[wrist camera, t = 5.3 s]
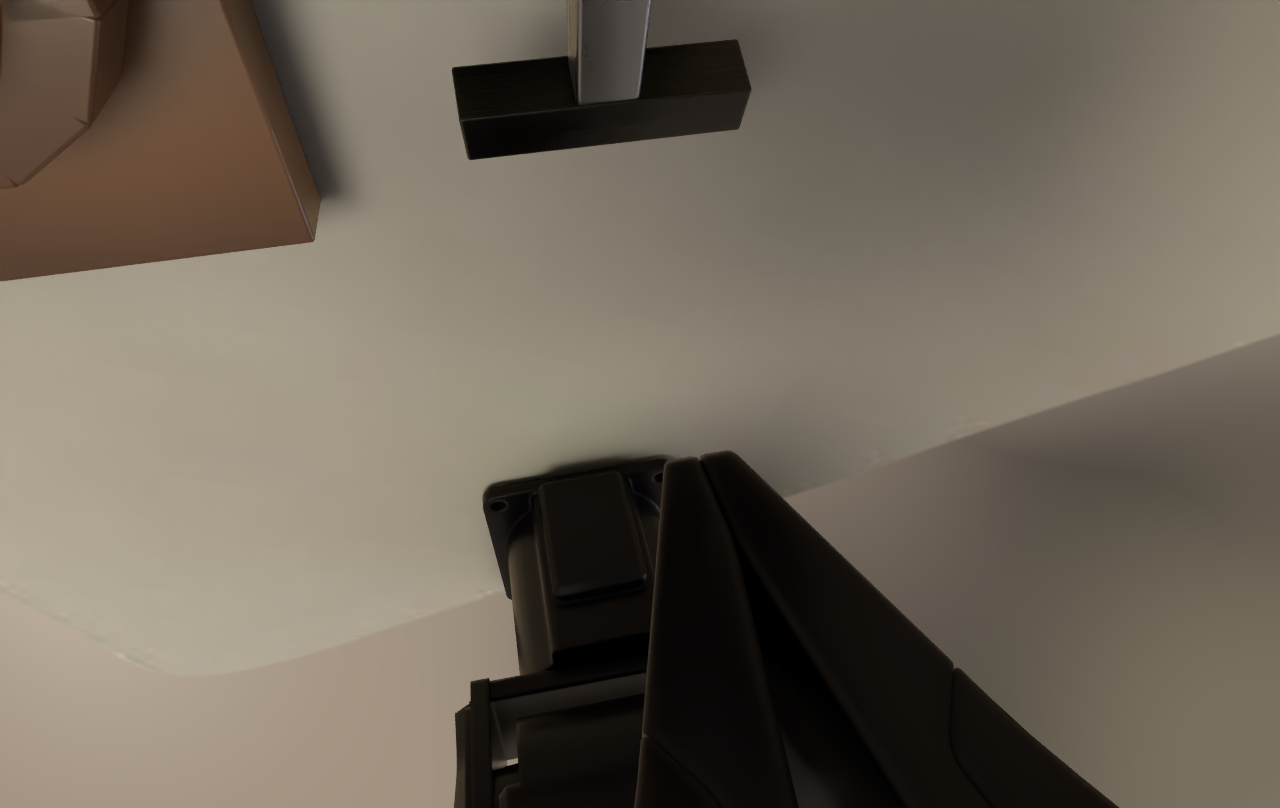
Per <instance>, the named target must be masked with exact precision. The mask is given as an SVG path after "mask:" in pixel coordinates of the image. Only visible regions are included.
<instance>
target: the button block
mask: <svg viewBox="0 0 1280 808" xmlns="http://www.w3.org/2000/svg"><path fill="white" fill-rule="evenodd" d="M320 202H321V200H320V197H319V194H318V191H317V189H316V186H315V183H314V180H313V177H312V175H311V172H310V169H309V166H308V163H307V160H306V158H305V155H304V152H303V149H302V146H301V143H300V141H299V138H298V135H297V132H296V129H295V127H294V124H293V121H292V118H291V115H290V112H289V110H288V107H287V104H286V101H285V98H284V95H283V93H282V90H281V87H280V84H279V81H278V79H277V76H276V73H275V70H274V67H273V64H272V62H271V59H270V56H269V53H268V50H267V47H266V45H265V42H264V39H263V36H262V33H261V31H260V28H259V25H258V22H257V19H256V16H255V14H254V11H253V8H252V5H251V2H250V0H0V281H8V280H15V279H23V278H31V277H39V276H47V275H55V274H63V273H71V272H79V271H87V270H95V269H103V268H111V267H118V266H126V265H134V264H142V263H150V262H158V261H166V260H174V259H182V258H190V257H198V256H206V255H213V254H221V253H229V252H237V251H245V250H253V249H261V248H269V247H277V246H285V245H293V244H301V243H308V242H313V241H314V240H315V234H316V228H317V221H318V215H319V209H320Z"/></svg>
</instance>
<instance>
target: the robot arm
mask: <svg viewBox="0 0 1280 808" xmlns="http://www.w3.org/2000/svg"><path fill="white" fill-rule="evenodd" d="M482 500H483V510H484V513H485V517H486V521H487V525H488V528H489V532H490V536H491V539H492V543H493V547H494V550H495V554H496V558H497V561H498V565H499V569H500V572H501V576H502V580H503V584H504V587H505V591H506V595H507V597H508V598H509V599H511V600H512V603H513V612H514V622H515V631H516V641H517V651H518V660H519V670H520V676H515V677H510V678H504V679H499V680H494V681H490V680H489V678H487V679H481V680H476V681H471V701H470V702H469V704H468V705H467V706H465V707H464V708H462V709H461V710H460V711H458V712H457V713H455V721H456V723H455V724H456V747H457V777H456V790H455V802H454V808H1119V807H1118V806H1117V805H1115V804H1114V803H1113V802H1111V801H1110V800H1109V799H1108V798H1107V797H1105V796H1104V795H1103V794H1102V793H1100V792H1099V791H1098V790H1097V789H1095V788H1094V787H1093V786H1092V785H1090V784H1089V783H1088V782H1087V781H1085V780H1084V779H1083V778H1082V777H1080V776H1079V775H1078V774H1077V773H1076V772H1075V771H1073V770H1072V769H1071V768H1070V767H1069V766H1067V765H1066V764H1065V763H1064V762H1063V761H1061V760H1060V759H1059V758H1058V757H1057V756H1055V755H1054V754H1053V753H1052V752H1051V751H1049V750H1048V749H1047V748H1046V747H1045V746H1043V745H1042V744H1041V743H1040V742H1039V741H1037V740H1036V739H1035V738H1034V737H1032V736H1031V735H1030V734H1029V733H1028V732H1027V731H1026V730H1025V729H1024V728H1022V726H1020V725H1019V724H1018V723H1017V722H1016V721H1015V720H1014V719H1013V718H1012V717H1011V716H1010V715H1008V714H1007V713H1006V712H1005V711H1004V710H1003V709H1002V708H1001V707H1000V706H999V705H998V704H996V703H995V702H994V701H993V700H992V699H991V698H990V697H989V696H988V695H987V694H986V693H985V692H984V691H983V690H982V689H980V688H979V687H978V686H977V685H976V684H975V683H974V682H973V681H972V680H971V679H970V678H969V677H968V676H967V675H966V674H965V673H964V672H963V671H962V670H961V669H959V668H954V669H953V667H954V665H953V663H952V661H951V660H950V659H949V658H948V657H947V656H946V655H945V654H944V653H943V652H942V651H941V650H940V649H939V648H938V647H937V646H936V645H935V644H934V643H932V642H931V641H930V640H929V639H928V638H927V637H926V636H925V635H924V634H923V633H922V632H921V631H920V630H919V629H918V628H917V627H916V626H915V625H914V624H913V623H912V622H911V621H910V620H909V619H907V617H905V616H904V615H903V614H902V613H901V612H900V611H899V610H898V609H897V608H896V607H895V606H894V605H893V604H892V603H891V602H890V601H889V600H888V599H887V598H886V597H885V596H884V595H883V594H882V593H880V591H878V590H877V589H876V588H875V587H874V586H873V585H872V584H871V583H870V582H869V581H868V580H867V579H866V578H865V577H864V576H863V575H862V574H861V573H860V572H859V571H858V570H857V569H855V568H854V566H852V565H851V564H850V563H849V562H848V561H847V560H846V559H845V558H844V557H843V556H842V555H841V554H840V553H839V552H838V551H837V550H836V549H835V548H834V547H833V546H831V544H830V543H829V542H827V541H826V540H825V539H824V538H823V537H822V536H821V535H820V534H819V533H818V532H817V531H816V530H815V529H814V528H813V527H812V526H811V525H810V524H809V523H808V522H807V521H806V520H805V519H804V518H802V516H800V515H799V514H798V513H797V512H796V511H795V510H794V509H793V508H792V507H791V506H790V505H789V504H788V503H787V502H786V501H785V500H784V499H783V498H782V497H781V496H780V495H779V494H778V493H777V492H776V491H775V490H773V489H772V488H771V487H770V486H769V485H768V484H767V483H766V482H765V481H764V480H763V479H762V478H761V477H760V476H759V475H758V474H757V473H756V472H755V471H754V470H753V469H752V468H751V467H750V466H749V465H747V464H746V463H745V462H744V461H743V460H742V459H741V458H740V457H739V456H738V455H737V454H736V453H734V452H732V451H721V452H715V453H710V454H704V455H702V456H701V457H700V458H699V460H698V459H697V458H696V457H686V458H681V459H675V460H666V459H656V460H651V461H645V462H639V463H633V464H628V465H622V466H616V467H610V468H605V469H599V470H593V471H587V472H582V473H576V474H570V475H564V476H559V477H553V478H547V479H541V480H536V481H530V482H524V483H518V484H512V485H507V486H501V487H495V488H492V489H489V490H488V491H486V492H485V493H484V495H483V499H482ZM497 501H499V502H497ZM515 758H518V763H517V764H514V765H509V766H507V760H510V759H515Z"/></svg>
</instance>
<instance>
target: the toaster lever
mask: <svg viewBox="0 0 1280 808" xmlns="http://www.w3.org/2000/svg"><path fill="white" fill-rule="evenodd" d="M651 3H652V0H567V23H568V56H562V57H552V58H542V59H532V60H522V61H511V62H501V63H491V64H481V65H471V66H461V67H454V68H453V69H452V75H453V82H454V88H455V95H456V102H457V108H458V115H459V121H460V126H461V130H462V135H463V139H464V144H465V148H466V153H467V157H468V159H469V160H476V159H485V158H493V157H502V156H511V155H519V154H528V153H537V152H545V151H554V150H563V149H571V148H580V147H589V146H597V145H606V144H615V143H623V142H632V141H641V140H649V139H658V138H667V137H675V136H684V135H693V134H701V133H710V132H719V131H727V130H736V129H739V127H740V124H741V121H742V118H743V115H744V111H745V108H746V105H747V102H748V99H749V96H750V93H751V85H750V82H749V78H748V75H747V71H746V68H745V64H744V61H743V57H742V54H741V50H740V46H739V43H738V40H736V39H734V40H724V41H714V42H704V43H694V44H683V45H673V46H663V47H653V48H646V44H647V36H648V28H649V19H650V11H651Z"/></svg>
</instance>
